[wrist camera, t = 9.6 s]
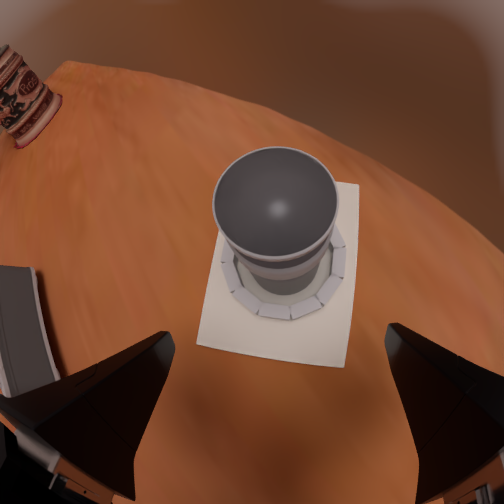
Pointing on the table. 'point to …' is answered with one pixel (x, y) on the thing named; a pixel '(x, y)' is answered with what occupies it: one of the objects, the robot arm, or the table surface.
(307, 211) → the grey round piece
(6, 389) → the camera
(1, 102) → the beer stein
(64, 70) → the table surface
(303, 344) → the board
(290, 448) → the table surface
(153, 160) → the table surface
